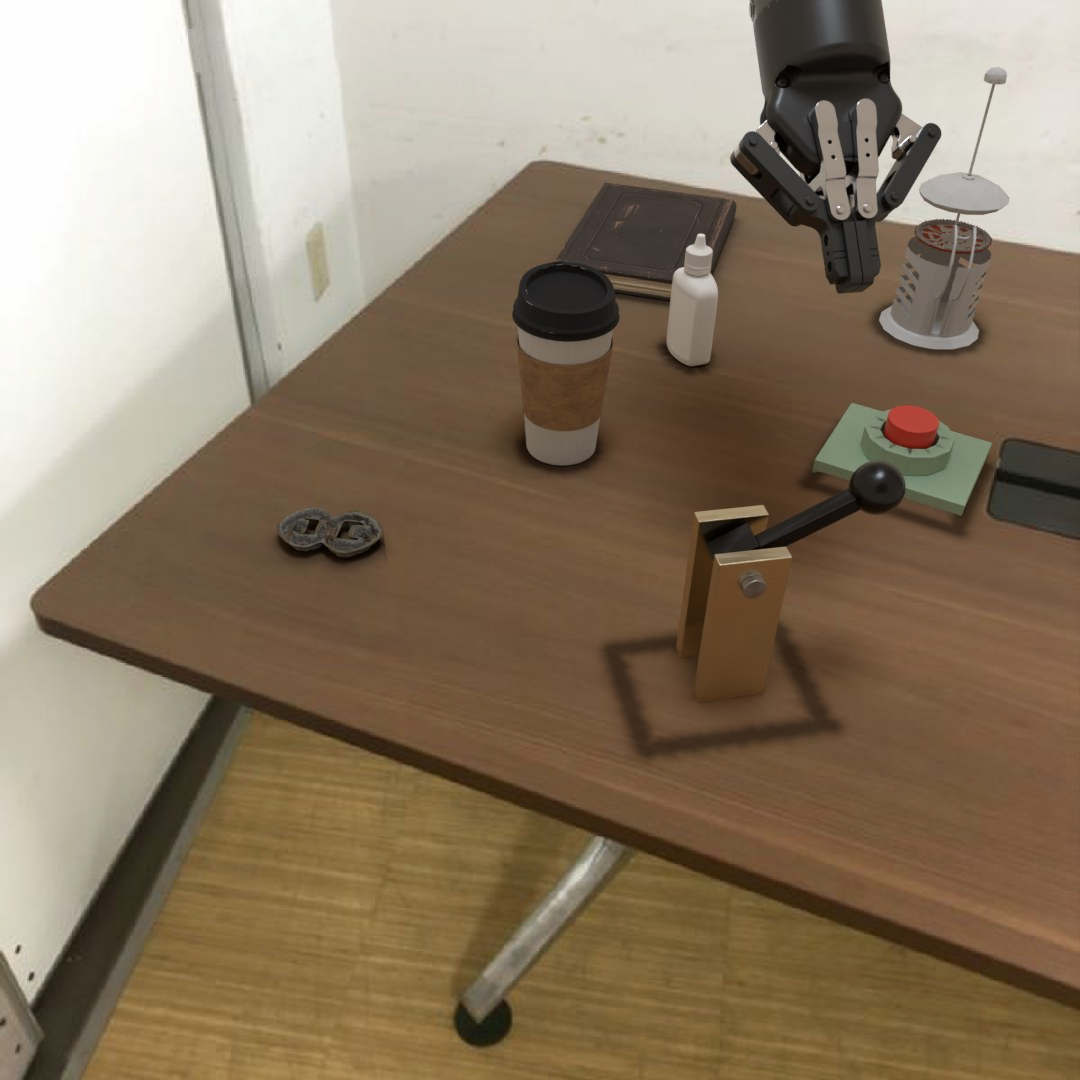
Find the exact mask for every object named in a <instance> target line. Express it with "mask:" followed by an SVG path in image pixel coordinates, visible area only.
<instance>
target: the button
mask: <svg viewBox="0 0 1080 1080" xmlns="http://www.w3.org/2000/svg"><path fill="white" fill-rule="evenodd" d="M889 410H890V412H889V413H888V417H887V421H886V424H885V428H884V436H885V438H886V439H887V440H889V441H890V442H892V443H893V444H895V445H898V446H902V447H905V448H908V449H927V448H929V447H931V446H932V445H933V443H934V441H935V437H936V434H937V430H938V427H939V421H940V420H939V418H938V417H937V416H936V414H935V413H933V412H932V411H930V410H928V409H926V408H923V407H921V406H917V405H898V406H894V407H893V408H891V409H889Z"/></svg>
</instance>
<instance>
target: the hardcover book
mask: <svg viewBox="0 0 1080 1080" xmlns="http://www.w3.org/2000/svg"><path fill="white" fill-rule="evenodd" d="M736 213H737V202H736V201H735V200H734V199H732V198H724V197H717V196H710V195H701V194H696V193H695V194H694V193H687V192H678V191H671V190H663V189H658V188H657V189H656V188H649V187H641V186H635V185H628V184H627V185H626V184H619V183H612V182H611V183H610V182H604V183H603V185H602V186H601V188H600V190H599V191H598V192H597V194H596V196H595V197H594V199H593V200H592V201H591V203H590V205H589V207H588V208H587V209H586V211H585V213H584V214H583V215H582V217H581V219H580V220H579V222H578V223H577V225H576V226H575V228H574V229H573V231H572V232H571V234H570V235H569V237H568V238H567V239H566V242H565V243H564V245H563V246H562V248H561V249H560V251H559V252H558V254H557V255H556V256H555V258H554V260H553V262H557V261H563V262H574V263H581V264H585V265H588V266H591V267H594V268H596V269H597V270H599V271H601V272H602V273H603V274H605V275H606V276H607V277H608V279H609V280H610V281H611V283H612V284H613V287H614V291H615V294H621V295H627V296H634V297H640V298H646V299H647V298H648V299H654V300H660V301H666V302H670V299H671V289H672V281H673V275H674V273H675V271H676V270H677V269H679V268H682V267H684V263H685V254H686V248H687V247H688V246H690V245H694V243H695V241H696V237H697V235H698V234H704V235H705V240H706V246H709V247H710V248H711V249H712V250H713V255H712V263H711V271H710V273H711V275H712V276H713V272H714V270H715V267H716V264H717V261H718V259H719V256H720V254H721V252H722V249H723V247H724V244H725V242H726V239H727V237H728V234H729V231H730V229H731V227H732V224H733V221H734V218H735V216H736Z"/></svg>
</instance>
